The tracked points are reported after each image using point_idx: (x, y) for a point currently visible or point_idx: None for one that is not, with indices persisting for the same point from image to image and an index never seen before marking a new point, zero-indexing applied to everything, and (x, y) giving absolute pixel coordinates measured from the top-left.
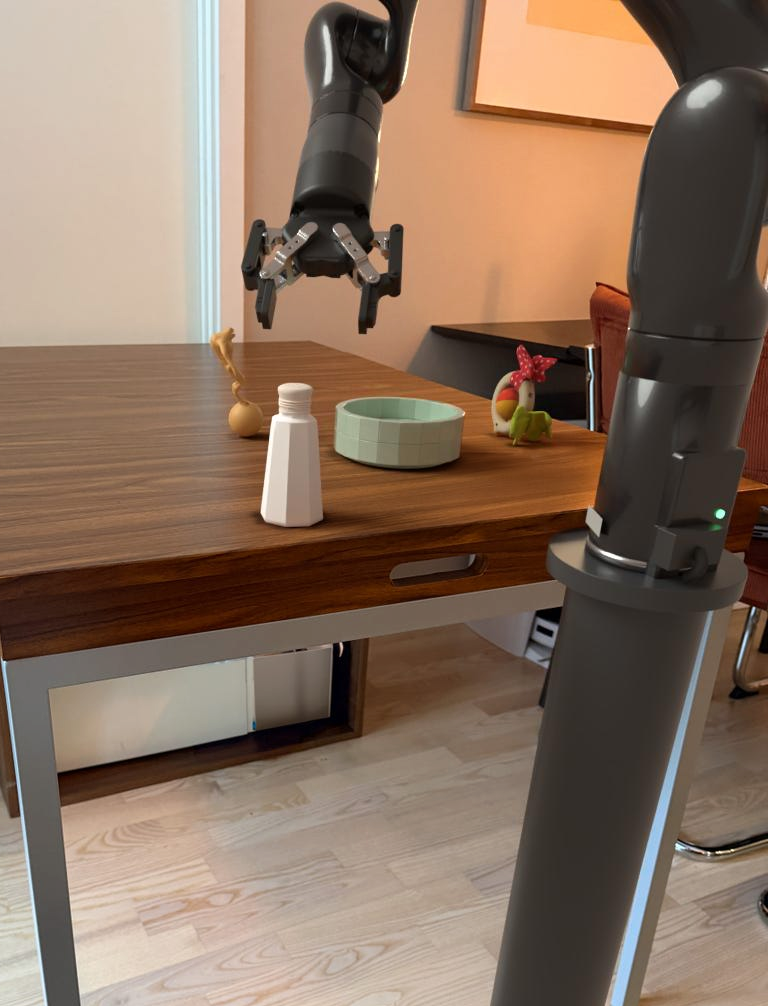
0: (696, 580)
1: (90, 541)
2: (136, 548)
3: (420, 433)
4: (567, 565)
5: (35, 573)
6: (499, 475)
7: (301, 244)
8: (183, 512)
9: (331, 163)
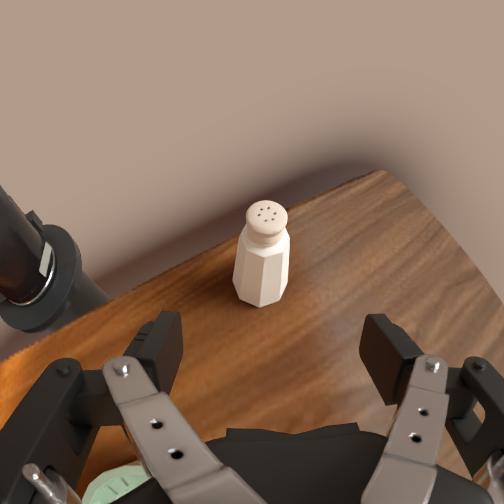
0: None
1: (374, 211)
2: (344, 205)
3: (130, 463)
4: (75, 249)
5: (370, 172)
6: None
7: (393, 432)
8: (348, 276)
9: None
